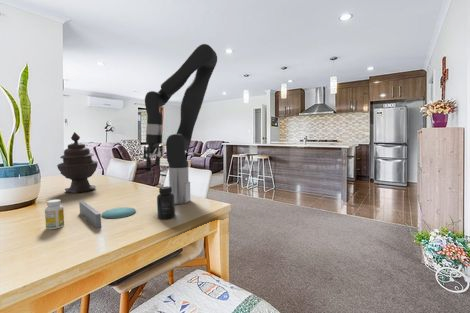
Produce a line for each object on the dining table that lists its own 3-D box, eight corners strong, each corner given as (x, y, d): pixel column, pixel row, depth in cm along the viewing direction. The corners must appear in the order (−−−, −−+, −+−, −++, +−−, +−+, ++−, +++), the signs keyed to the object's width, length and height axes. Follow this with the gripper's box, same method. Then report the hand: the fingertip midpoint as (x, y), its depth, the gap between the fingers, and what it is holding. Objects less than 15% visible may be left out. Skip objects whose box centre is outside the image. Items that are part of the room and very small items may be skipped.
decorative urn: (104, 184, 161) (98, 130, 155) (95, 194, 141) (87, 132, 135) (69, 187, 156) (61, 131, 150) (54, 198, 137) (44, 134, 131)
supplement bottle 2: (178, 215, 102) (177, 186, 101) (168, 220, 96) (168, 189, 95) (164, 213, 105) (163, 185, 103) (153, 218, 98) (152, 188, 97)
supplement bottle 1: (48, 231, 86) (46, 203, 85) (44, 227, 89) (42, 201, 88) (66, 226, 90) (64, 200, 89) (61, 223, 93) (60, 198, 93)
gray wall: (79, 213, 105) (79, 201, 105) (83, 212, 106) (83, 200, 106) (96, 228, 88) (95, 214, 88) (101, 227, 89) (100, 213, 89)
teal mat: (141, 209, 110) (141, 208, 110) (123, 219, 97) (123, 218, 97) (115, 208, 112) (115, 206, 112) (94, 217, 100) (93, 216, 100)
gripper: (153, 134, 114) (152, 169, 116) (168, 134, 128) (166, 165, 130) (139, 133, 115) (138, 167, 117) (154, 133, 129) (153, 164, 131)
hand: (153, 166), depth 123 cm, fingers open, 8 cm apart
